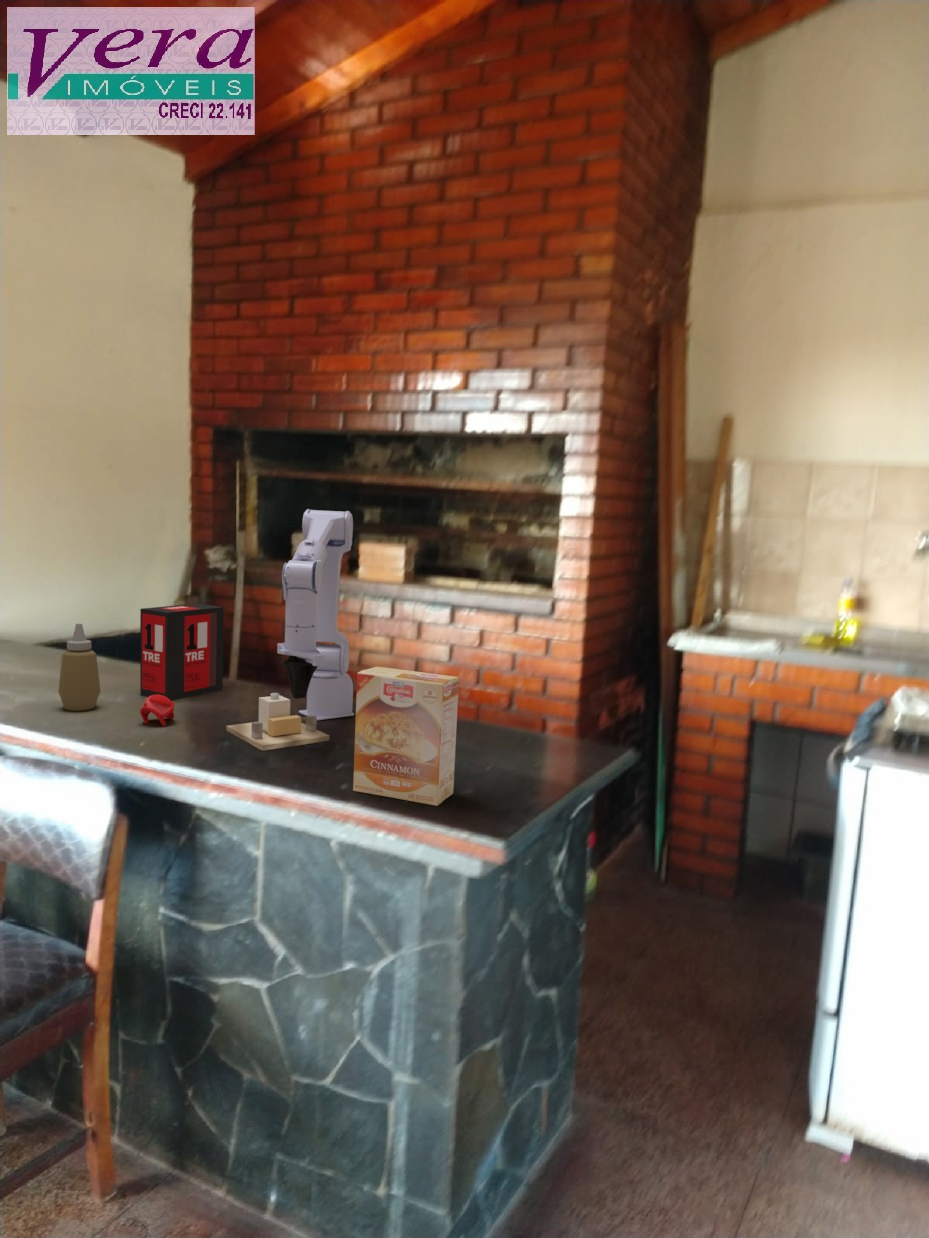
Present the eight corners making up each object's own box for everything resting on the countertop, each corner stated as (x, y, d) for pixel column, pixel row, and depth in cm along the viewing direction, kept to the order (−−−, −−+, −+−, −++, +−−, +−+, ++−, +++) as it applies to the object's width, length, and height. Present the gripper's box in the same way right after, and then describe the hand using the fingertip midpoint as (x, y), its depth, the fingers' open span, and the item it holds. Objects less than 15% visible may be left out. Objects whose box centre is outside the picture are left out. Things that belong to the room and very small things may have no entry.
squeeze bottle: (49, 709, 178) (48, 624, 175) (80, 702, 185) (79, 620, 183) (79, 714, 175) (78, 628, 172) (109, 706, 182) (108, 623, 180)
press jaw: (296, 729, 167) (296, 715, 166) (301, 732, 165) (301, 717, 165) (267, 733, 163) (268, 718, 162) (272, 736, 161) (273, 720, 161)
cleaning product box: (196, 684, 208) (196, 603, 205) (222, 689, 204) (223, 607, 201) (140, 695, 194) (140, 608, 191) (167, 701, 189) (167, 612, 187)
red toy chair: (162, 714, 166) (180, 693, 170) (135, 701, 167) (155, 681, 171) (163, 738, 171) (181, 718, 176) (138, 726, 172) (157, 706, 177)
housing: (279, 724, 170) (280, 690, 169) (289, 729, 167) (290, 694, 166) (258, 727, 168) (259, 692, 167) (268, 732, 164) (269, 697, 163)
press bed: (290, 722, 177) (290, 703, 176) (329, 740, 165) (329, 720, 164) (226, 730, 168) (226, 710, 168) (262, 750, 156) (263, 729, 155)
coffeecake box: (351, 791, 136) (355, 672, 134) (371, 779, 143) (375, 665, 140) (437, 807, 131) (443, 683, 129) (454, 793, 138) (460, 675, 135)
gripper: (263, 621, 160) (261, 691, 162) (300, 632, 149) (298, 707, 151) (296, 619, 164) (295, 688, 166) (335, 630, 153) (333, 703, 155)
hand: (299, 697), depth 159 cm, fingers closed
